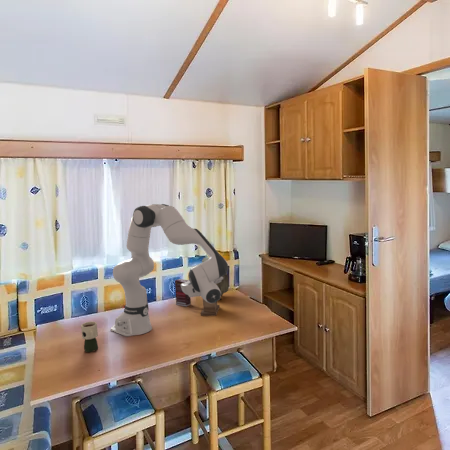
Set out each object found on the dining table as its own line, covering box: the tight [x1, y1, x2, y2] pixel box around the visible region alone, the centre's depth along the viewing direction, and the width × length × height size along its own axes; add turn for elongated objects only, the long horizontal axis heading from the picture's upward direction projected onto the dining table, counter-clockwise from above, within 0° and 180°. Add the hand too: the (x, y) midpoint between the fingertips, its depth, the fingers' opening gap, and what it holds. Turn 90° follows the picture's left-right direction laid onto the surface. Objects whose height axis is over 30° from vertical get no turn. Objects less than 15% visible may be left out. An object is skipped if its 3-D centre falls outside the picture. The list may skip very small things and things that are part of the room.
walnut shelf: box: [200, 284, 220, 317], centre depth 222 cm, size 18×9×26 cm, turn 172°
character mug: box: [80, 321, 99, 353], centre depth 178 cm, size 11×7×13 cm, turn 32°
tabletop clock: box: [217, 272, 230, 301], centre depth 246 cm, size 14×9×25 cm, turn 128°
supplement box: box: [174, 278, 192, 307], centre depth 238 cm, size 9×5×16 cm, turn 58°
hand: (197, 277), depth 193 cm, fingers open, 8 cm apart
